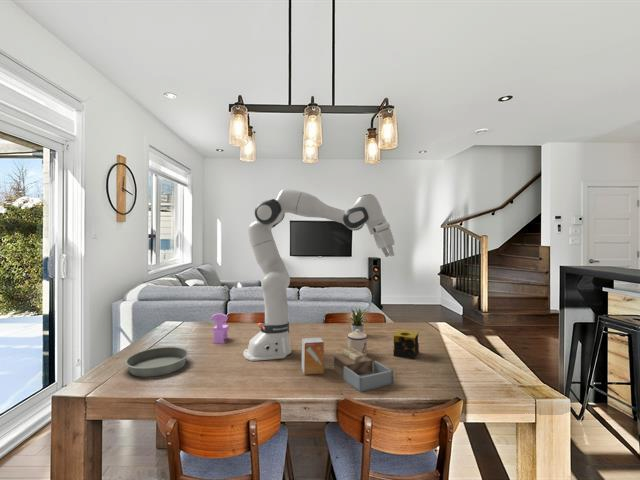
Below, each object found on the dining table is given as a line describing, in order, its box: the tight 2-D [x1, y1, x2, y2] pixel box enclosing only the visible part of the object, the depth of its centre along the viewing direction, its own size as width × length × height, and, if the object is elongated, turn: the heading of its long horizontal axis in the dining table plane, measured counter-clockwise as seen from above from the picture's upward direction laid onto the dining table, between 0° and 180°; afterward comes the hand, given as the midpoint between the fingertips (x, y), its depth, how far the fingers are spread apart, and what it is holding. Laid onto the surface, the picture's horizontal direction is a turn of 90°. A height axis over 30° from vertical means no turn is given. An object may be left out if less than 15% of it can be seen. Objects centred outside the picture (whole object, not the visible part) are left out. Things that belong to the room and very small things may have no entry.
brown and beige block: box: [333, 354, 374, 377], centre depth 140 cm, size 12×10×6 cm
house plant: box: [348, 306, 371, 333], centre depth 189 cm, size 14×14×16 cm
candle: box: [392, 329, 420, 360], centre depth 160 cm, size 10×10×10 cm
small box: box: [301, 336, 325, 376], centre depth 140 cm, size 8×6×13 cm
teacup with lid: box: [347, 329, 368, 357], centre depth 161 cm, size 12×9×12 cm
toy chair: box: [211, 313, 229, 344], centre depth 179 cm, size 8×9×15 cm
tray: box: [343, 360, 395, 393], centre depth 130 cm, size 15×12×5 cm
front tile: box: [349, 352, 364, 363], centre depth 138 cm, size 4×4×2 cm
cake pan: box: [124, 346, 190, 378], centre depth 145 cm, size 25×25×4 cm
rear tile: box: [342, 348, 358, 359], centre depth 142 cm, size 4×4×2 cm
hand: (390, 256), depth 154 cm, fingers open, 8 cm apart
